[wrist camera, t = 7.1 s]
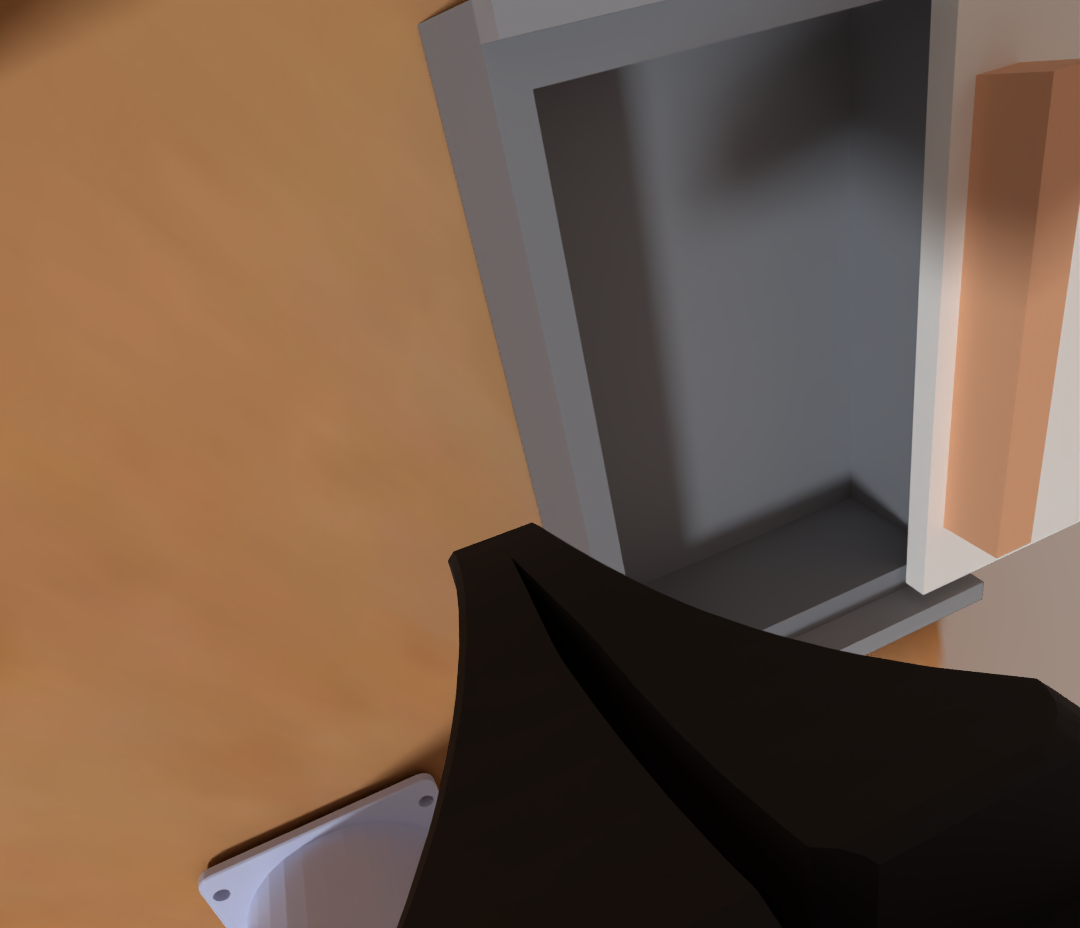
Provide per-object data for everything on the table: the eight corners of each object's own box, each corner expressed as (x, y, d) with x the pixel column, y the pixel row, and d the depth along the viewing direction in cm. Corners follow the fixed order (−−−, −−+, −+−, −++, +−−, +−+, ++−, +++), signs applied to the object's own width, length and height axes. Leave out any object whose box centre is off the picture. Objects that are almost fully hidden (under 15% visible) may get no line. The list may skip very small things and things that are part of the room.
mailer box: (857, 517, 28) (982, 599, 24) (571, 640, 26) (646, 759, 21) (858, -76, 19) (1062, -137, 15) (417, 24, 17) (489, -10, 12)
